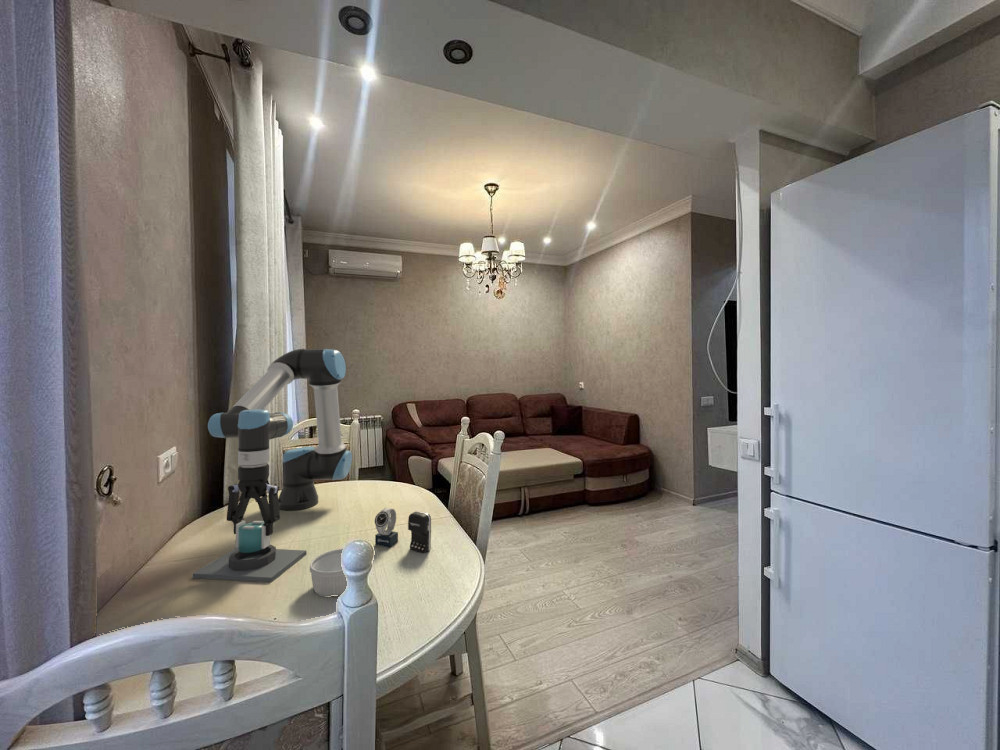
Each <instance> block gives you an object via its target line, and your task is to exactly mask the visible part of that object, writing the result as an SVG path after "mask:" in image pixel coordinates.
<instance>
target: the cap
mask: <svg viewBox="0 0 1000 750" xmlns="http://www.w3.org/2000/svg"><path fill="white" fill-rule="evenodd" d="M263 524H264V521H263V520H253V521H252V522H248V523H245V524H244V525H242V526H240V527H239V531H238V551H239V552H242V553H250V552H256V551H259V550H262V549H261V540H262V525H263Z"/></svg>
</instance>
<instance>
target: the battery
mask: <svg viewBox="0 0 1000 750" xmlns="http://www.w3.org/2000/svg"><path fill="white" fill-rule="evenodd" d="M407 520H408V521H407V523H408V524H407V530H408V531H410V532H411V535H410V536H411V537H410V538H411V539H410V544H409V549H410V550H412V551H415V552H419V553H423V554H424V553H427V552H429V551H430V550H431V549H432V548H431V537H432V516H431V514H429V513H428V512H424V511H420V510H415V511H414V512H412V513H410V514H409V515H408V519H407Z"/></svg>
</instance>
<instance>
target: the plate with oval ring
mask: <svg viewBox="0 0 1000 750" xmlns="http://www.w3.org/2000/svg"><path fill="white" fill-rule="evenodd" d="M306 555H307V550H302V549H287V548H286V549H284V548H283V549H282V548H281V549H279V548H277V547H276V546H274V545H273V544H270V545H269V546H267V547H266V548H264V549H262V550H259V551H256V552H250V553H242V552H239V551H238V548H237V547H235V548H234V549H232V550H230V551H228V552H226V553H225V554H223V555H221V556H220V557H218V558H216V559H214V560H213V561H211V562H209V563H208V564H206V565H205V566H203V567H201V568H199V569H197V570H196V571H194V572H193V573H192V574H191V575H192V577H191V578H192V579H207V580H220V581H221V580H224V581H225V580H226V581H241V582H243V581H244V582H260V583H262V582H264V583H272V582H274V581H275V580H276V579H277V578H279V577H280V576H281V575H283V574H284V573H285V572H287V570H289V569H290V568H291V567H293V566H294V565H295V564H296V563H298V562H299V561H300V560H301V559H303V558H304V557H305V556H306Z"/></svg>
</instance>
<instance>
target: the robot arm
mask: <svg viewBox="0 0 1000 750" xmlns="http://www.w3.org/2000/svg"><path fill="white" fill-rule="evenodd" d="M345 361H346V360H345V359H344V356H343V355H342V352H341V351H339V350H337V349H329V348H312V349H310V348H299V349H293V350H290V351H288V352H285V353H284V354H283V355H281V356H279V357H278V358H276V359H275V360H274V361H272V362H271V363H270V365H268V367H267V370H266V371H267V372H265V373H264V375H263V376H261V377H260V378H259V380H257V382H255V384H253V386H251V388H249V390H248V391H246V393H245V394H244V395H243V396H242V397H241V398H239V400H238V401H236V402H235V404H233V405H232V407H230V409H229V410H228V411H227V412H219V413H218V412H217V413H215V414H213V415H210V418H209V420H208V422H207V429H208V432H209V434H210V436H211V437H214V438H219V439H220V438H221V439H222V438H224V439H237V441H238V448H237V451H238V452H237V453H238V454H237V465H238V468H237V480H239V481H238V483H234V484H232V485H228V487H227V491H228V494H229V495H228V501H227V503H228V504H227V510H226V511H227V512H226V521H228V522H232V524H233V534H234V535H235V548H238V531H239V527H240V526H242V525H244V524H246V520H244V518H245V517H244V516H245V513H246V511H247V508H248V505H249V502H250V500H251V499H252V500H253V499H254V500H255V503H257V505H258V508H259V511H260V514H261V517H262V521H264V524H263V525H262V540H261V549H264V548H266V547H267V546H269V545H271V536H272V535H273V533H274V523H275V522H278V521H279V520H280V519H281V513H280V510H281V511H298V510H304V509H308V508H311V507H312V508H313V507H314V506H316V505H318V504H319V494H318V492H317V489H316V485H315V480H328V481H329V480H333V481H335V480H344V479H345V478H346V477H347V476H348V475H349V472H350V470H351V467H352V462H353V455H352V454H353V453H352V451H350V450H348V449H347V446H346V444H345V443H344V442H342V434H341V433H342V432H341V420H340V419H341V418H340V404H339V391H338V386H339V385H340V384H341V383H342V379H344V377H345V376H346V371H347V367H346V362H345ZM299 379H300V380H301V379H304V380H308V385H309V386H310V387H311V388H313V394H314V395H313V396H314V405H315V416H316V426H317V427H316V428H317V430H316V431H317V439H318V440H317V442H318V445H317V446H316V447H314V446H302V447H298V448H293V449H289V450H286V451H284V453H283V455H282V462H281V463H282V487H281V490H280V486H279V485H278V484H276V485H272V484H270V482H269V478H270V477H269V476H270V464H269V462H270V440H272V439H273V440H274V439H277V438H282V437H283V436H286V435H289V433H290V432H291V431H292V429H293V427H294V421H293V418H292V417H291V415H290V414H288V413H286V412H280V411H279V412H273V413H272V412H271V413H270V411H269V410H268V409H266V407H267V406H268V405H269V404H270V403H271V402H272V401H273V400H274V398H275V397H276V396H277V395H278V394H279V393H280V392H281V391H282V390H283V388H284V387H285V386H286V385H290V384H291V383H293V381H295V380H299ZM279 490H280V493H279ZM240 492H241V493H240Z"/></svg>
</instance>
